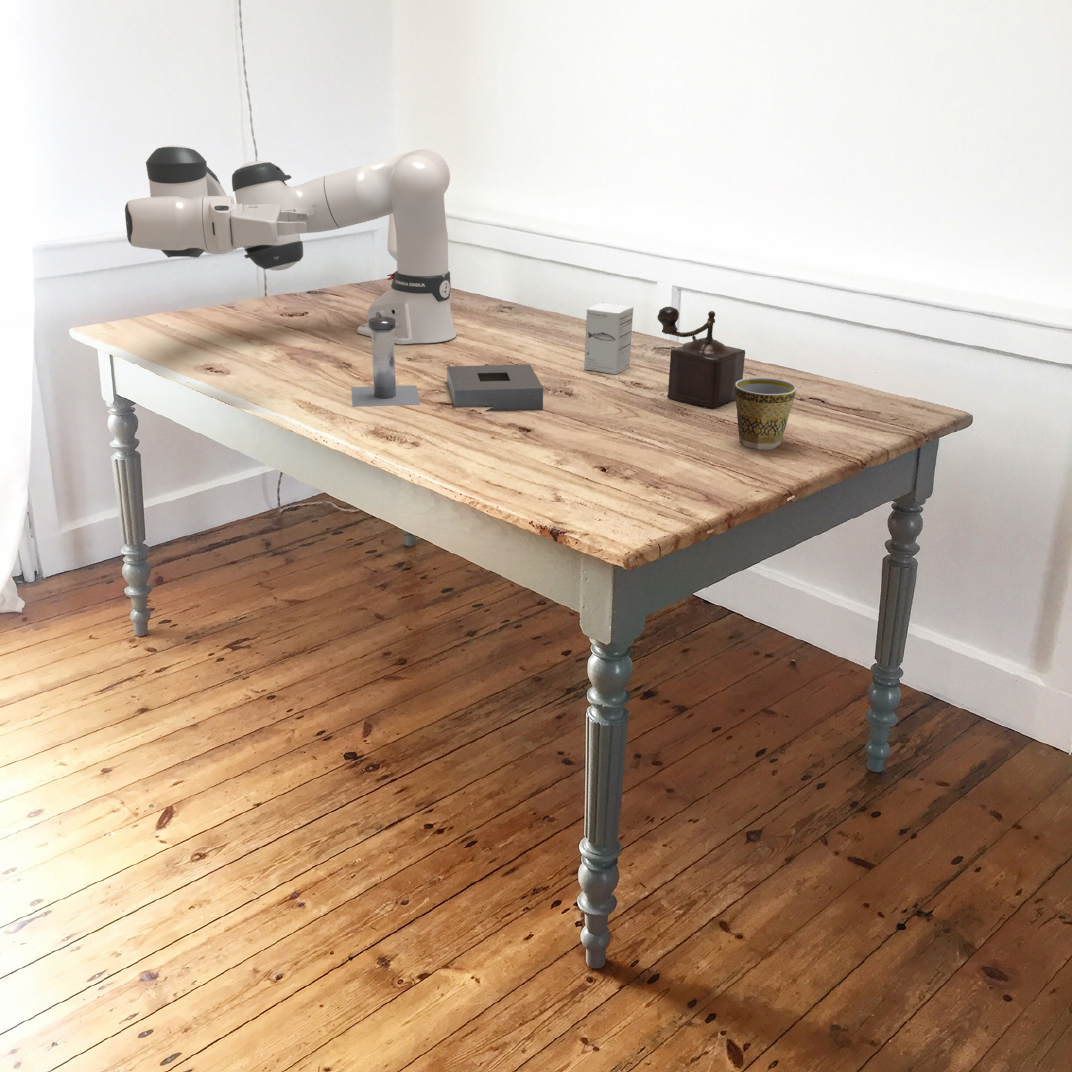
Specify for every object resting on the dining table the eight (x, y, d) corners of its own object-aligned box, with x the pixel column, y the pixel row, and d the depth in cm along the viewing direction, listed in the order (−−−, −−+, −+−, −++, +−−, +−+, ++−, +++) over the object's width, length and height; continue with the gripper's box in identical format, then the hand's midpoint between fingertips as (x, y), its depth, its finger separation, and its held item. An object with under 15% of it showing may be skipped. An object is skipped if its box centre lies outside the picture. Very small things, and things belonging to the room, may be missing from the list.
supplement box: (582, 370, 232) (585, 308, 227) (598, 362, 238) (600, 301, 233) (616, 375, 229) (619, 312, 224) (631, 367, 235) (634, 305, 230)
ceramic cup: (797, 452, 189) (804, 394, 185) (738, 453, 188) (743, 395, 184) (774, 427, 201) (780, 372, 197) (718, 428, 200) (723, 372, 196)
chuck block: (454, 412, 206) (454, 390, 204) (447, 386, 220) (446, 366, 218) (542, 409, 208) (543, 388, 206) (529, 384, 222) (530, 364, 221)
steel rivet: (366, 396, 210) (362, 320, 204) (383, 389, 214) (380, 315, 208) (387, 401, 208) (383, 324, 202) (403, 394, 211) (401, 319, 205)
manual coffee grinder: (693, 386, 223) (700, 293, 216) (742, 397, 217) (751, 303, 210) (647, 403, 212) (653, 307, 205) (697, 416, 206) (705, 317, 199)
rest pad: (352, 411, 205) (352, 406, 204) (352, 392, 215) (351, 387, 215) (420, 409, 206) (420, 404, 206) (416, 390, 217) (416, 385, 217)
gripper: (230, 232, 205) (309, 231, 207) (220, 252, 186) (306, 252, 188) (227, 195, 202) (307, 195, 204) (216, 212, 184) (304, 212, 186)
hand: (307, 222), depth 196 cm, fingers open, 8 cm apart
